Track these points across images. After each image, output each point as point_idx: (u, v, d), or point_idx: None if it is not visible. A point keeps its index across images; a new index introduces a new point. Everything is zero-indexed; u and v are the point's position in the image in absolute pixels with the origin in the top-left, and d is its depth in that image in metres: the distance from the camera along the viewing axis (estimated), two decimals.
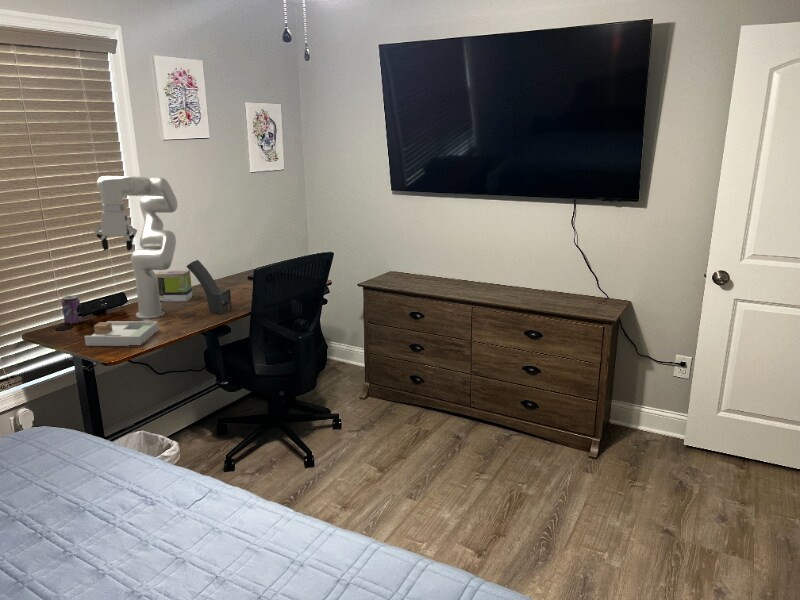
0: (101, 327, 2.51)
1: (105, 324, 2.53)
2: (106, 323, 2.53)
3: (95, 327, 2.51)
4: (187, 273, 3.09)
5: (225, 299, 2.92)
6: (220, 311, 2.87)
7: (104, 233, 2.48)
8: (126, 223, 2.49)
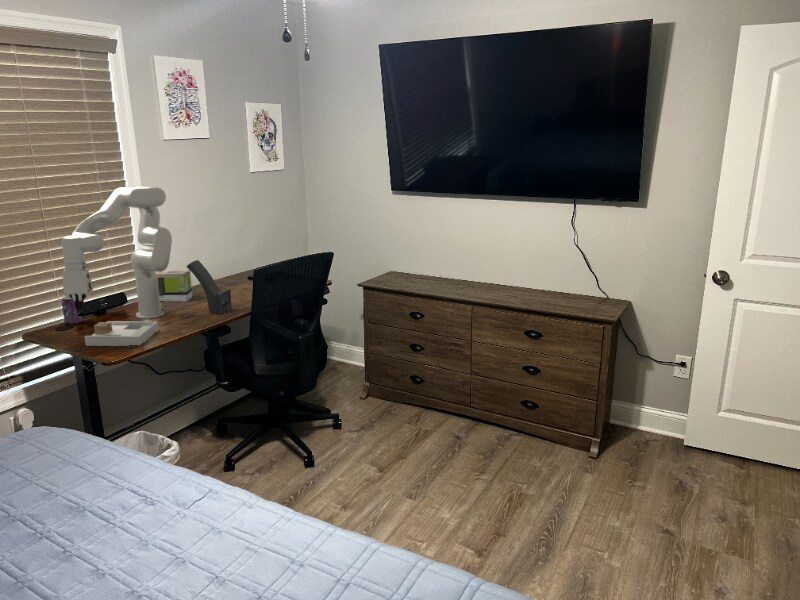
0: (101, 327, 2.51)
1: (105, 324, 2.53)
2: (106, 323, 2.53)
3: (95, 327, 2.51)
4: (187, 273, 3.09)
5: (225, 299, 2.92)
6: (220, 311, 2.87)
7: (66, 291, 2.46)
8: (88, 281, 2.47)
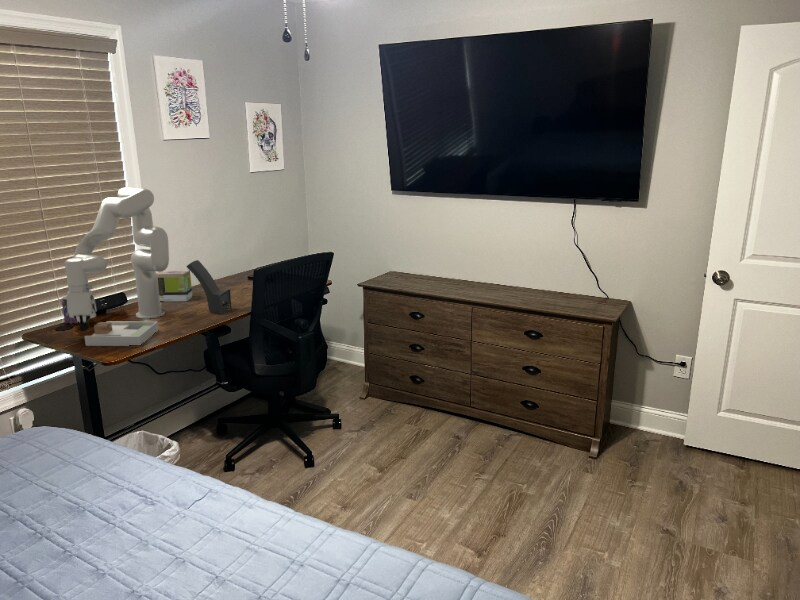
0: (101, 327, 2.51)
1: (105, 324, 2.53)
2: (106, 323, 2.53)
3: (95, 327, 2.51)
4: (187, 273, 3.09)
5: (225, 299, 2.92)
6: (220, 311, 2.87)
7: (70, 312, 2.49)
8: (92, 302, 2.50)
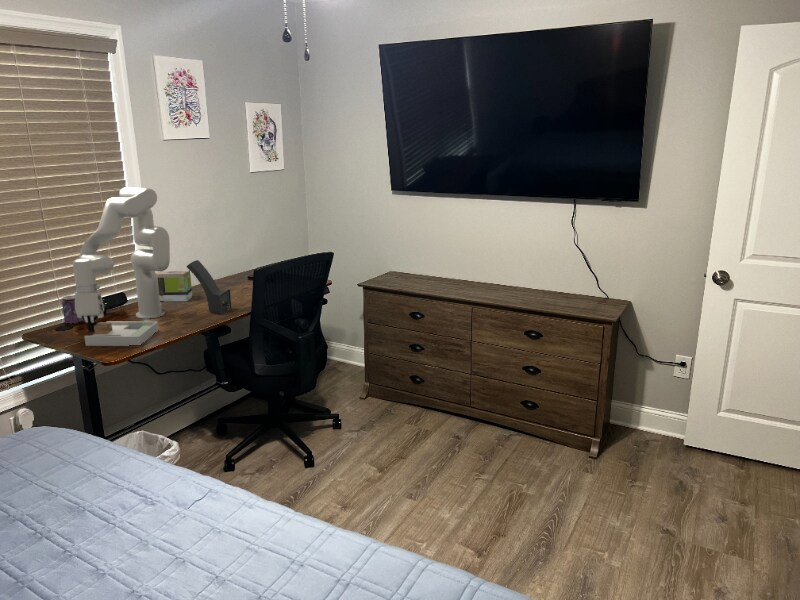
0: (101, 327, 2.51)
1: (105, 324, 2.53)
2: (106, 323, 2.53)
3: (95, 327, 2.51)
4: (187, 273, 3.09)
5: (225, 299, 2.92)
6: (220, 311, 2.87)
7: (78, 313, 2.49)
8: (100, 303, 2.50)
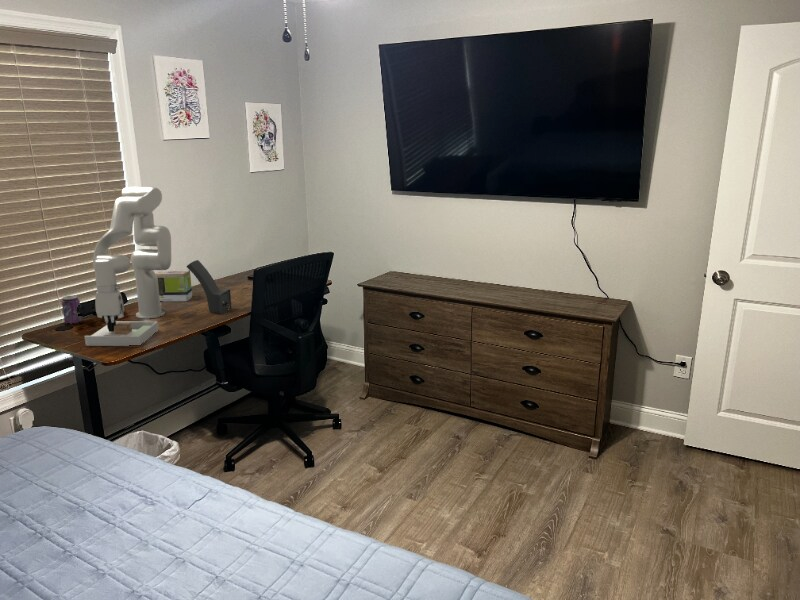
0: (121, 328, 2.50)
1: (125, 324, 2.53)
2: (126, 324, 2.53)
3: (115, 327, 2.50)
4: (187, 273, 3.09)
5: (225, 299, 2.92)
6: (220, 311, 2.87)
7: (98, 313, 2.49)
8: (120, 303, 2.50)
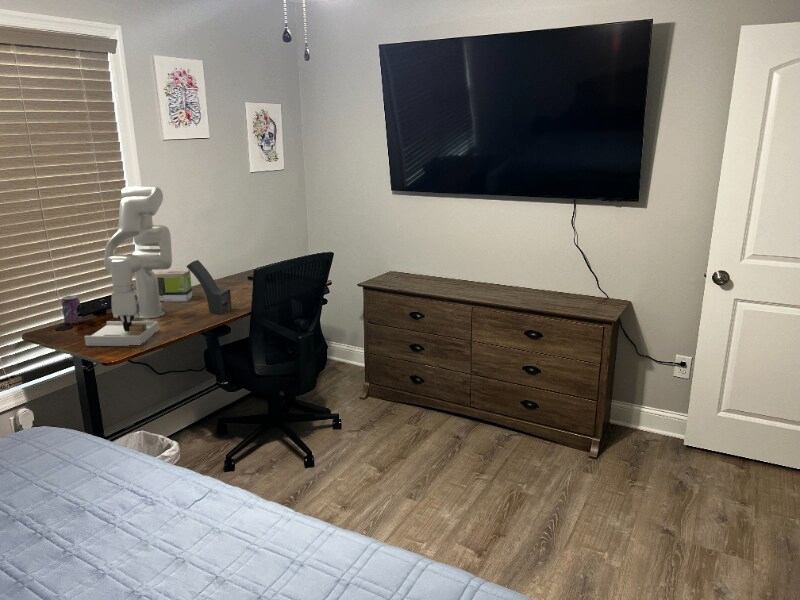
0: (136, 328, 2.50)
1: (141, 324, 2.52)
2: (141, 324, 2.53)
3: (130, 328, 2.50)
4: (187, 273, 3.09)
5: (225, 299, 2.92)
6: (220, 311, 2.87)
7: (114, 312, 2.49)
8: (136, 302, 2.50)
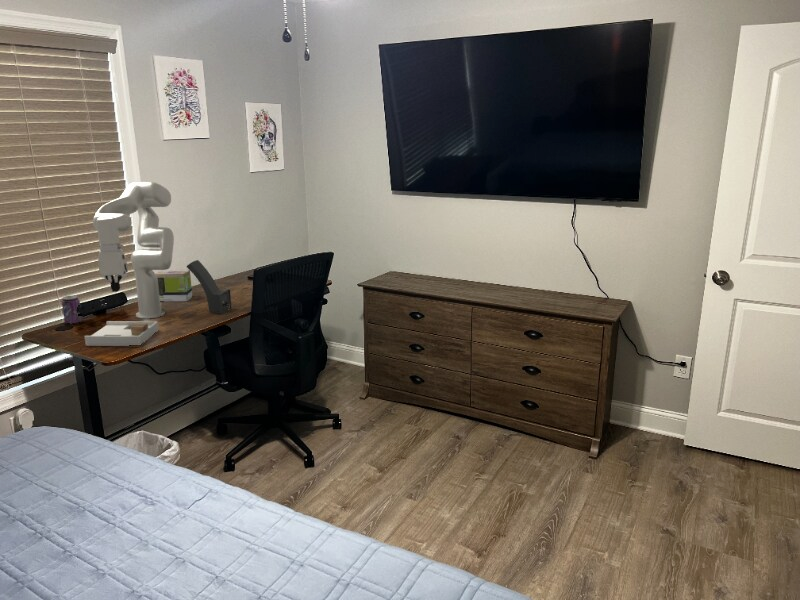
0: (138, 328, 2.50)
1: (142, 325, 2.52)
2: (143, 324, 2.52)
3: (132, 328, 2.50)
4: (187, 273, 3.09)
5: (225, 299, 2.92)
6: (220, 311, 2.87)
7: (101, 272, 2.45)
8: (124, 262, 2.46)
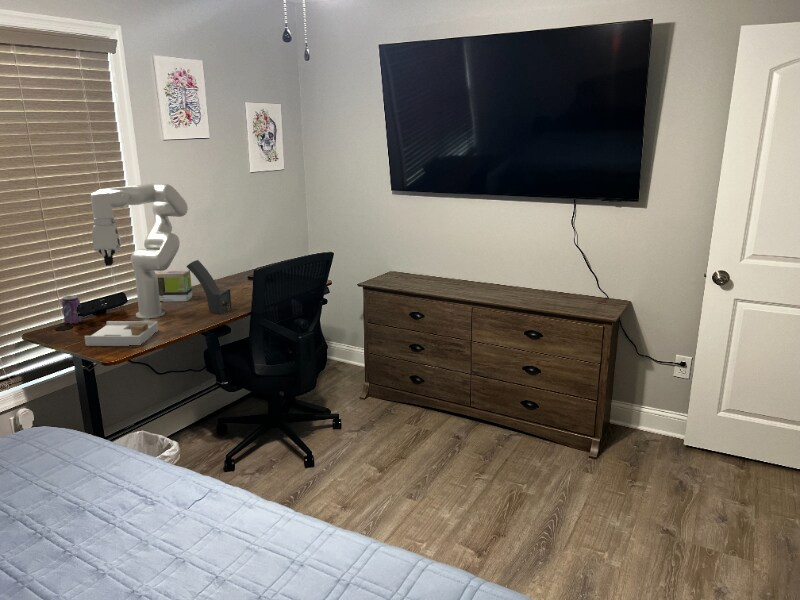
0: (138, 328, 2.50)
1: (142, 325, 2.52)
2: (143, 324, 2.52)
3: (132, 328, 2.50)
4: (187, 273, 3.09)
5: (225, 299, 2.92)
6: (220, 311, 2.87)
7: (95, 246, 2.52)
8: (117, 236, 2.53)
